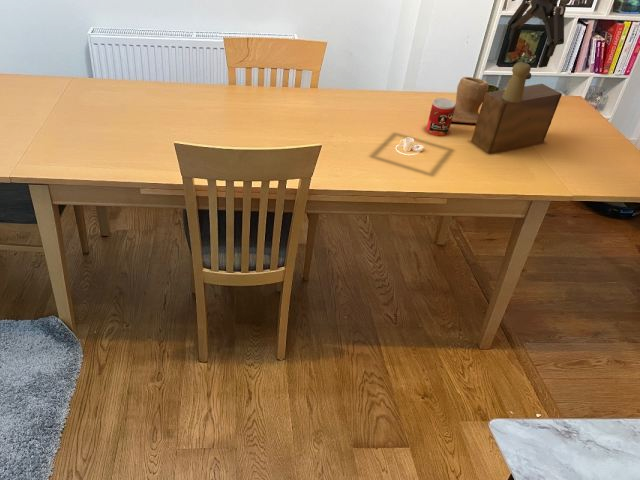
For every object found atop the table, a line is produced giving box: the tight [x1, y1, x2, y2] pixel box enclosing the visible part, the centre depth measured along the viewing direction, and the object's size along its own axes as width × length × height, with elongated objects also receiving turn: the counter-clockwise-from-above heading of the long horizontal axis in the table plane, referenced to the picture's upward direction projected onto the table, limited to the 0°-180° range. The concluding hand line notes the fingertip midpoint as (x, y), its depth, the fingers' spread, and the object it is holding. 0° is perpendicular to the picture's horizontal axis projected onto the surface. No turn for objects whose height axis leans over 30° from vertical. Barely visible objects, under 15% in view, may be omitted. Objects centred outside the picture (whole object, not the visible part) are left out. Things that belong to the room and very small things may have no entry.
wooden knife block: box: [470, 72, 563, 155], centre depth 194 cm, size 23×24×9 cm
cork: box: [502, 61, 532, 102], centre depth 182 cm, size 6×6×11 cm
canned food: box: [426, 97, 456, 137], centre depth 203 cm, size 8×8×11 cm
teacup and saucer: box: [394, 137, 424, 156], centre depth 194 cm, size 9×8×4 cm
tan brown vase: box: [451, 76, 490, 124], centre depth 210 cm, size 15×12×15 cm
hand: (526, 59), depth 178 cm, fingers open, 13 cm apart
